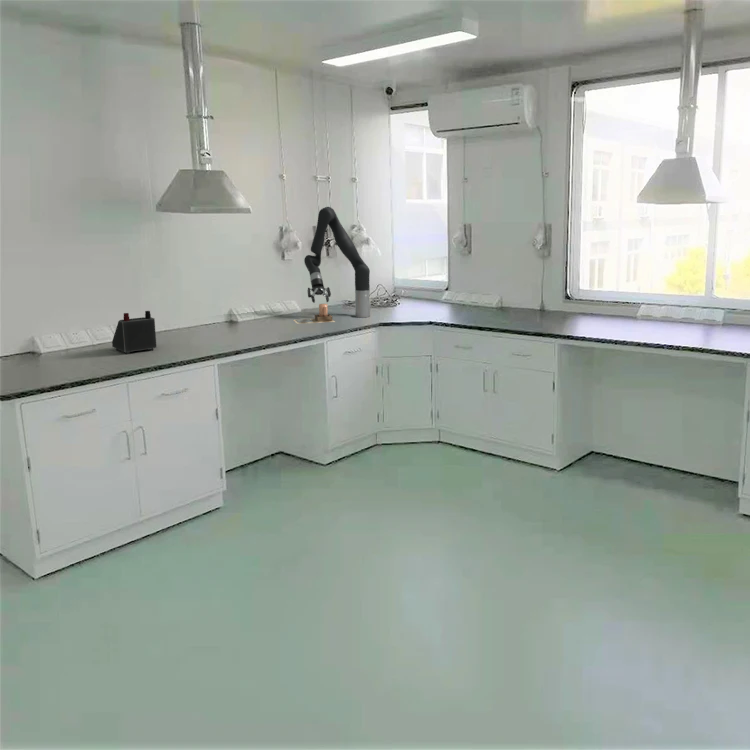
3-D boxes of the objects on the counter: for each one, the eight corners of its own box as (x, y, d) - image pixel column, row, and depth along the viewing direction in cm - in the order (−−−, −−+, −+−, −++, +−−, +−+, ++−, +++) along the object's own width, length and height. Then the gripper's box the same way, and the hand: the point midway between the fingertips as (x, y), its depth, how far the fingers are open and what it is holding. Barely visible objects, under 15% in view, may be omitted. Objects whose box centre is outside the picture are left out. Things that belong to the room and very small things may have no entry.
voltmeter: (143, 345, 359) (140, 307, 354) (156, 350, 347) (153, 311, 342) (112, 349, 349) (108, 310, 344) (125, 355, 337) (121, 314, 332)
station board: (330, 319, 437) (330, 313, 436) (335, 323, 424) (335, 316, 423) (292, 321, 430) (292, 315, 429) (297, 325, 417) (296, 318, 416)
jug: (326, 319, 432) (326, 303, 429) (329, 321, 425) (329, 305, 422) (318, 319, 430) (318, 303, 428) (321, 321, 423) (321, 305, 421)
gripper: (306, 277, 434) (310, 298, 426) (328, 277, 438) (333, 297, 430) (304, 285, 440) (308, 305, 432) (326, 284, 444) (331, 305, 437)
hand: (320, 301), depth 431 cm, fingers open, 8 cm apart
